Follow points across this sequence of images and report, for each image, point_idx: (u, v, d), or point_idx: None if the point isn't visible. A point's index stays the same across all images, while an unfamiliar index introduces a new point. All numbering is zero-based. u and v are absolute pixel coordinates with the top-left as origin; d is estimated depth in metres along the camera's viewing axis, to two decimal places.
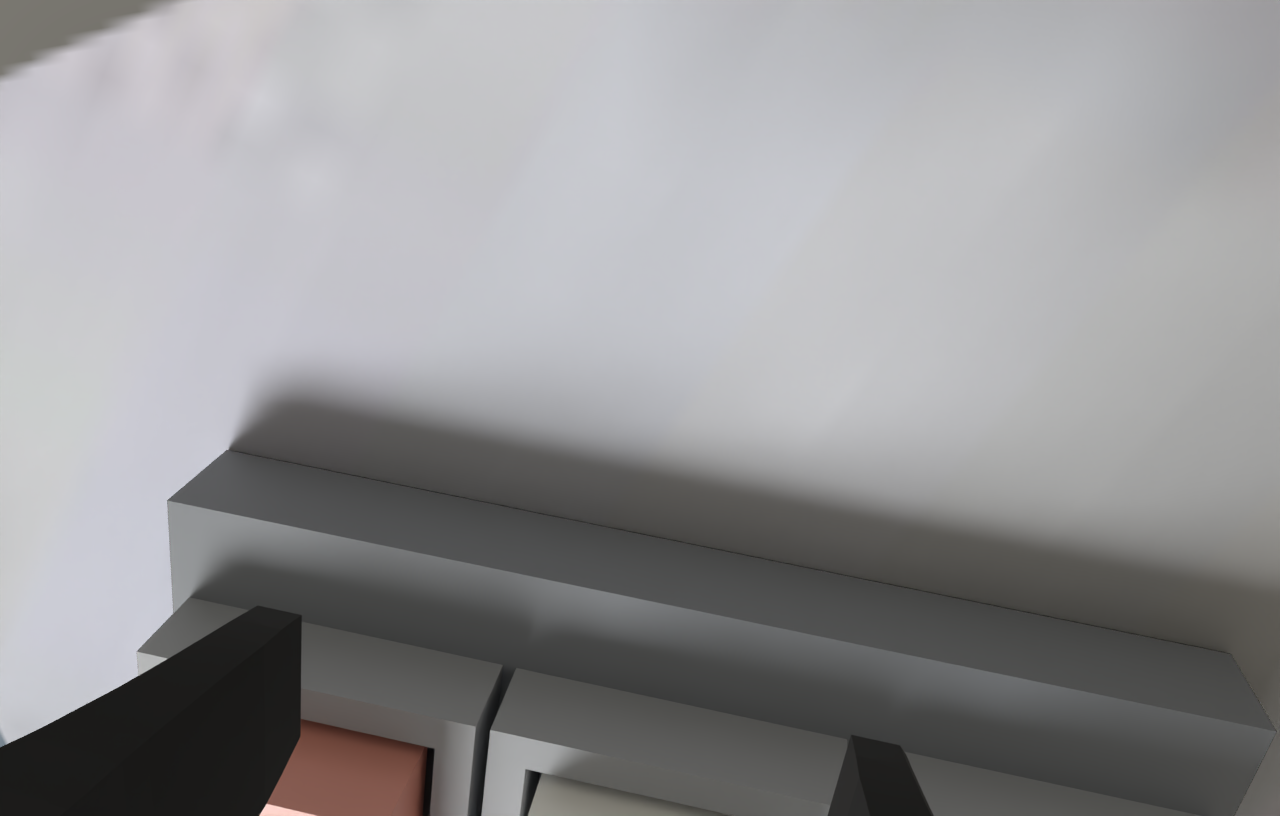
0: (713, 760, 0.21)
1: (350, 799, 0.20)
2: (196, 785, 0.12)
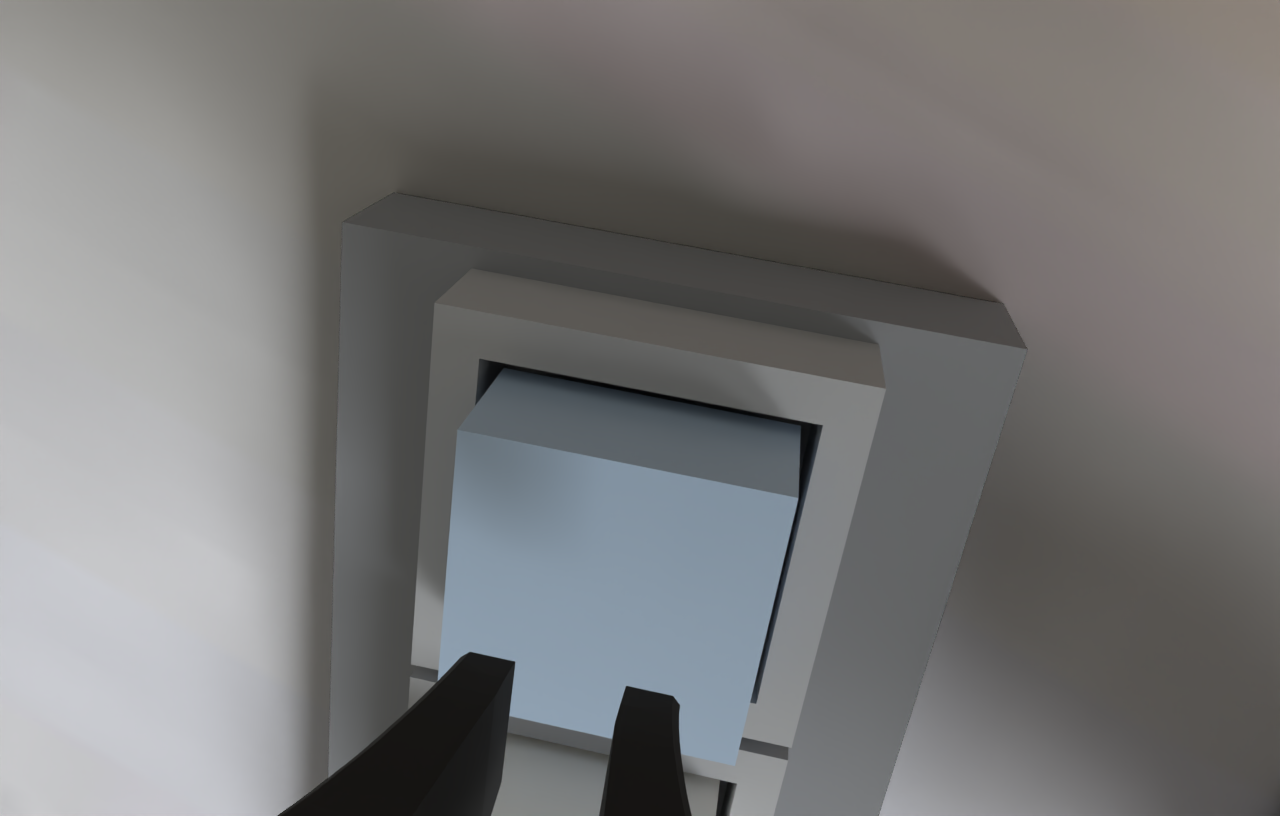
0: None
1: None
2: None
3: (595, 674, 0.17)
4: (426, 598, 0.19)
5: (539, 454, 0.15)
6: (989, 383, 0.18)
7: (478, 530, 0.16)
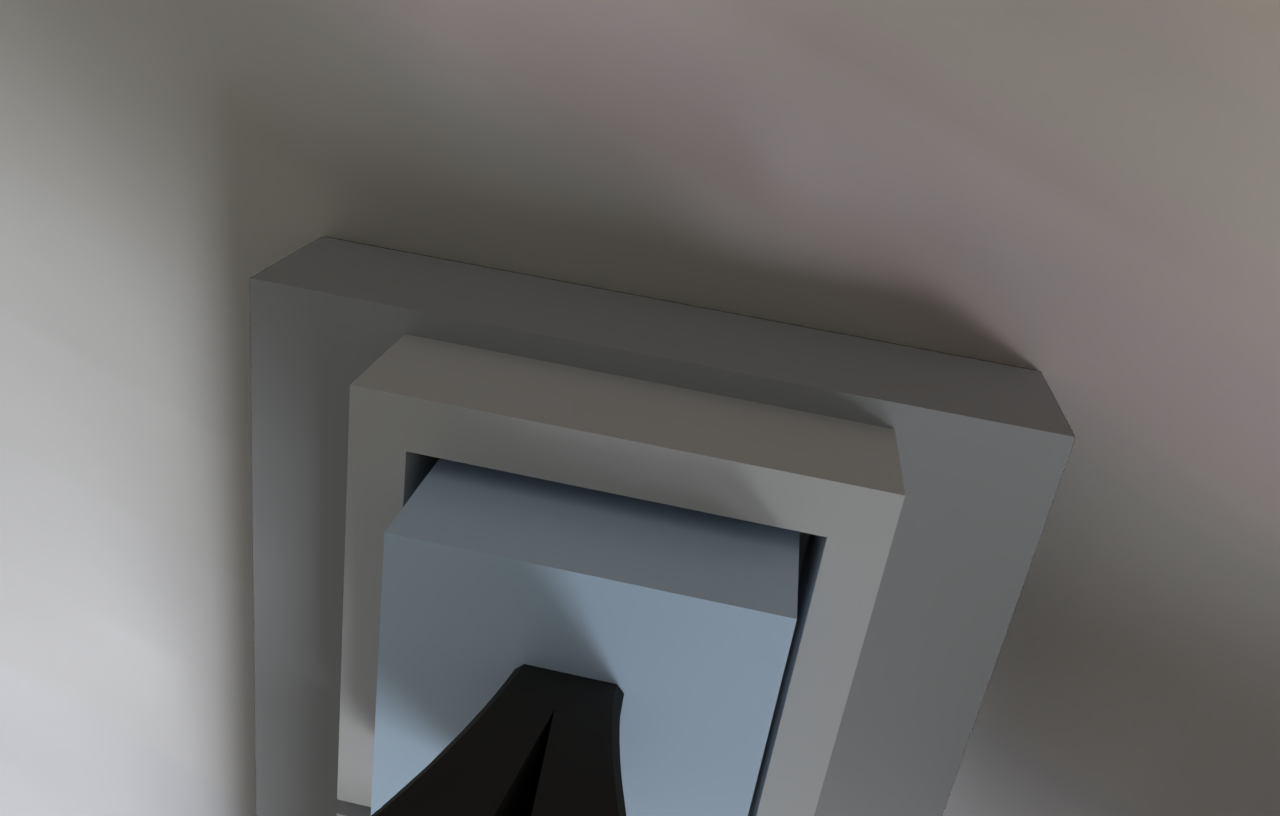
0: None
1: None
2: None
3: None
4: (352, 726, 0.16)
5: (483, 562, 0.13)
6: (1028, 476, 0.15)
7: (414, 649, 0.13)
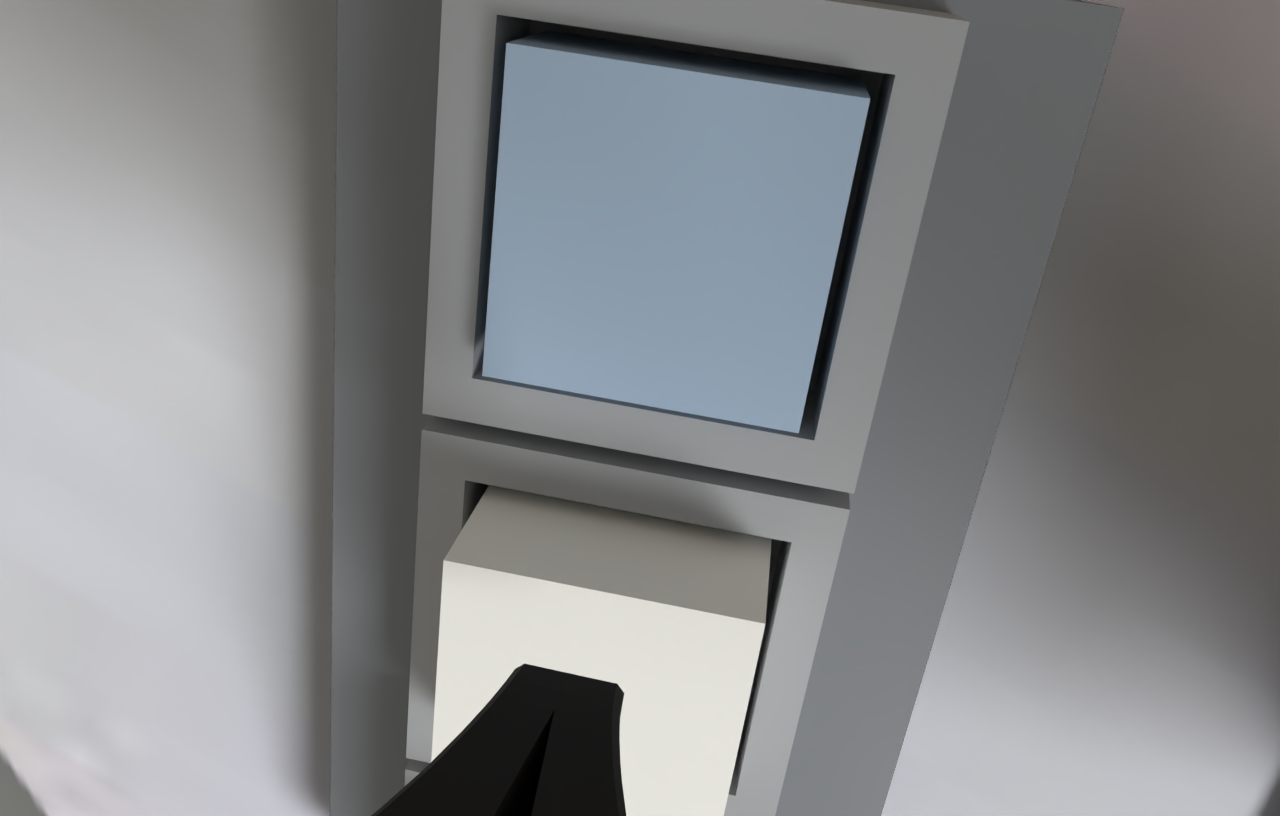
0: None
1: None
2: None
3: (651, 333, 0.16)
4: (439, 328, 0.17)
5: (593, 66, 0.14)
6: (1078, 55, 0.16)
7: (529, 166, 0.15)
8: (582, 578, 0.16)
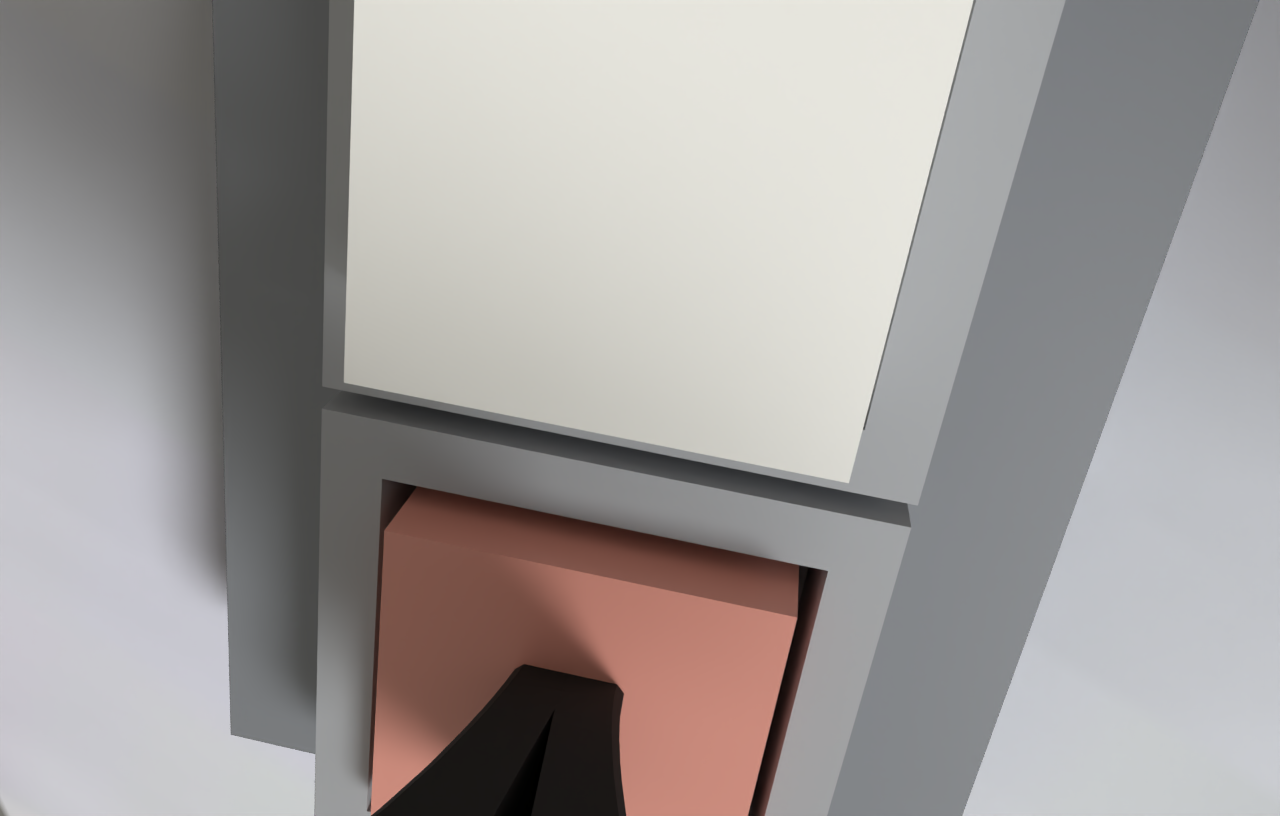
0: None
1: None
2: None
3: None
4: None
5: None
6: None
7: None
8: None
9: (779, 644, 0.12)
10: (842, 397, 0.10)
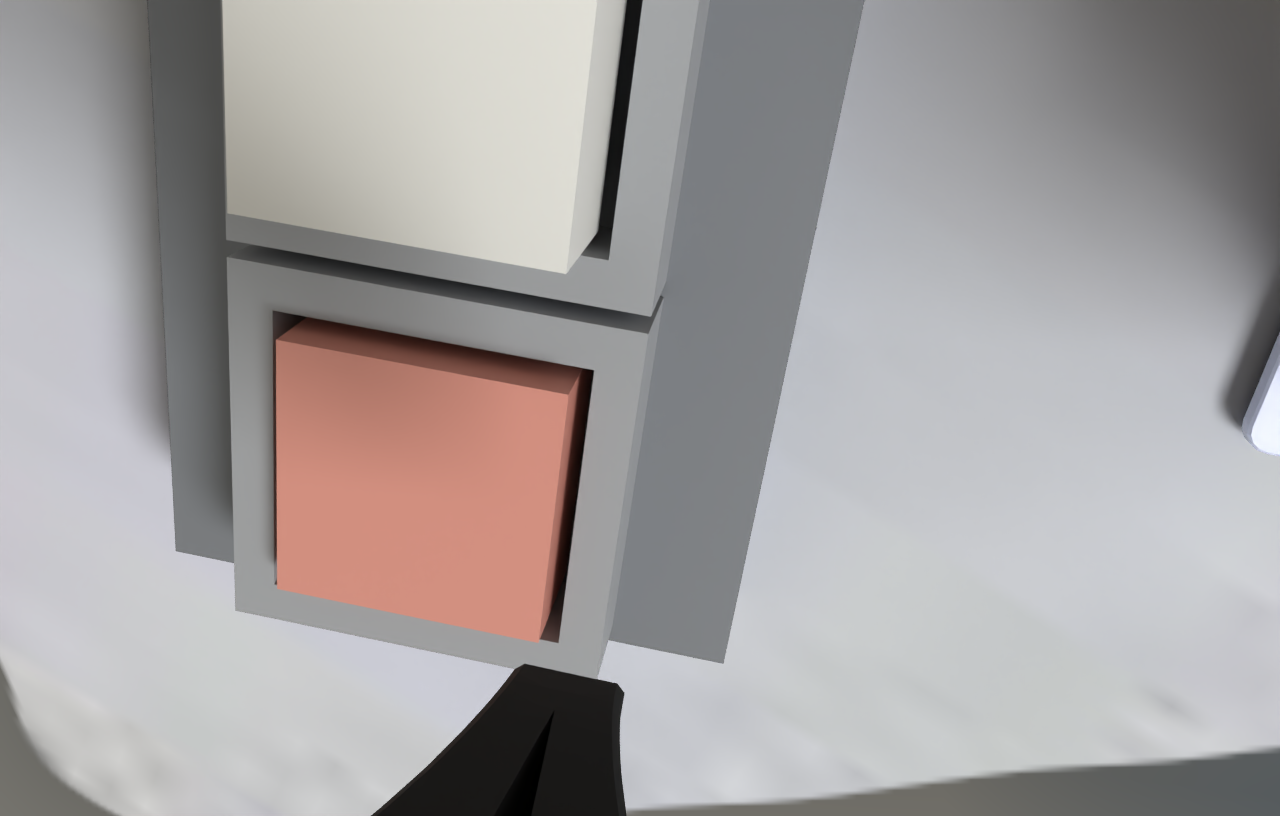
0: None
1: None
2: None
3: None
4: None
5: None
6: None
7: None
8: None
9: (558, 416, 0.17)
10: (555, 211, 0.14)
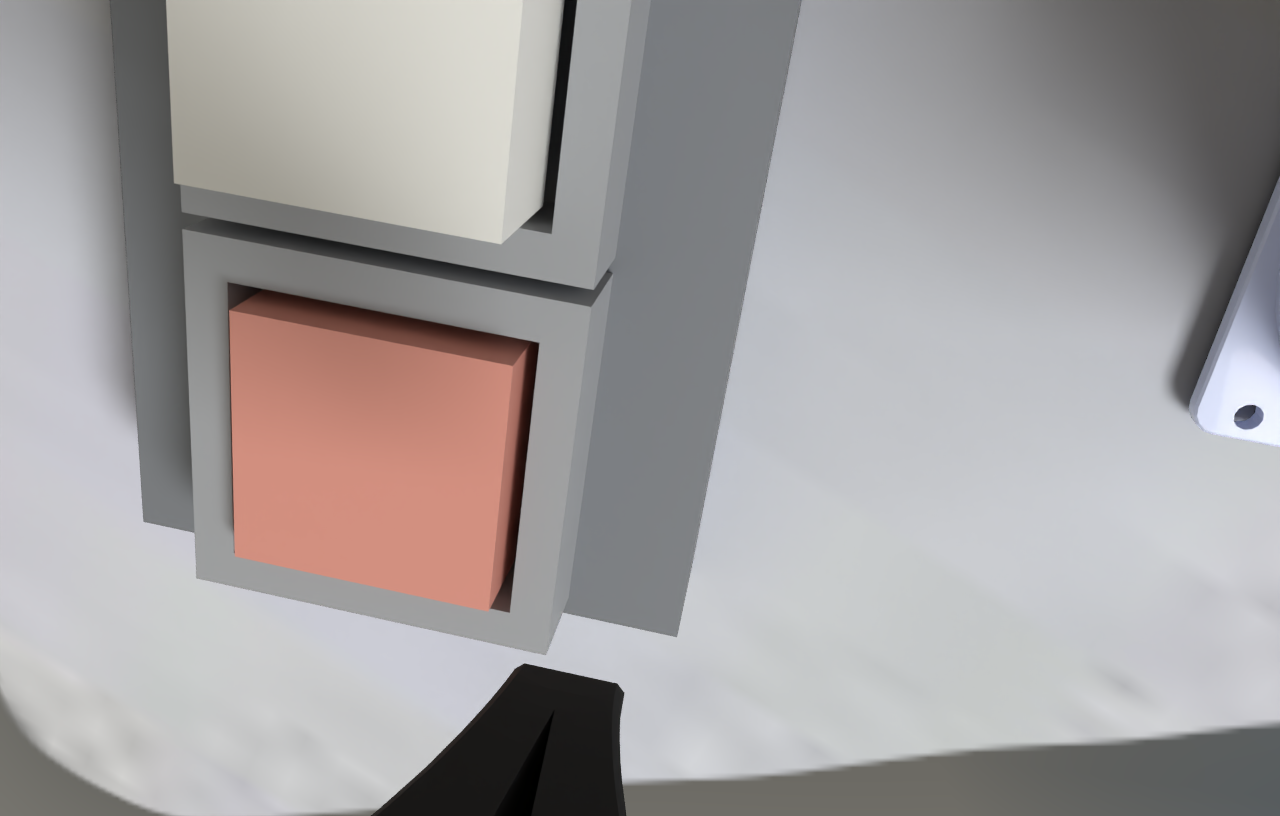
0: None
1: None
2: None
3: None
4: None
5: None
6: None
7: None
8: None
9: (503, 387, 0.18)
10: (489, 183, 0.15)
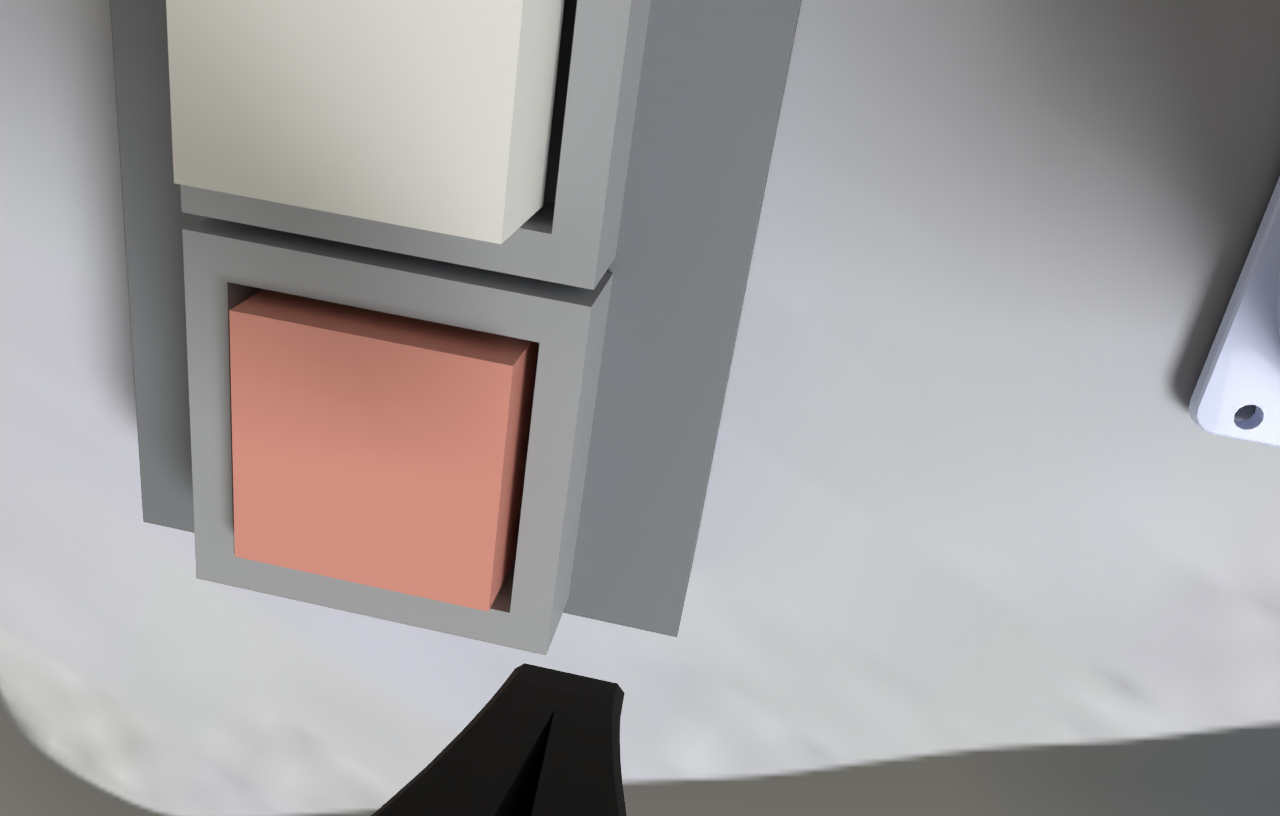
0: None
1: None
2: None
3: None
4: None
5: None
6: None
7: None
8: None
9: (503, 387, 0.18)
10: (489, 183, 0.15)
